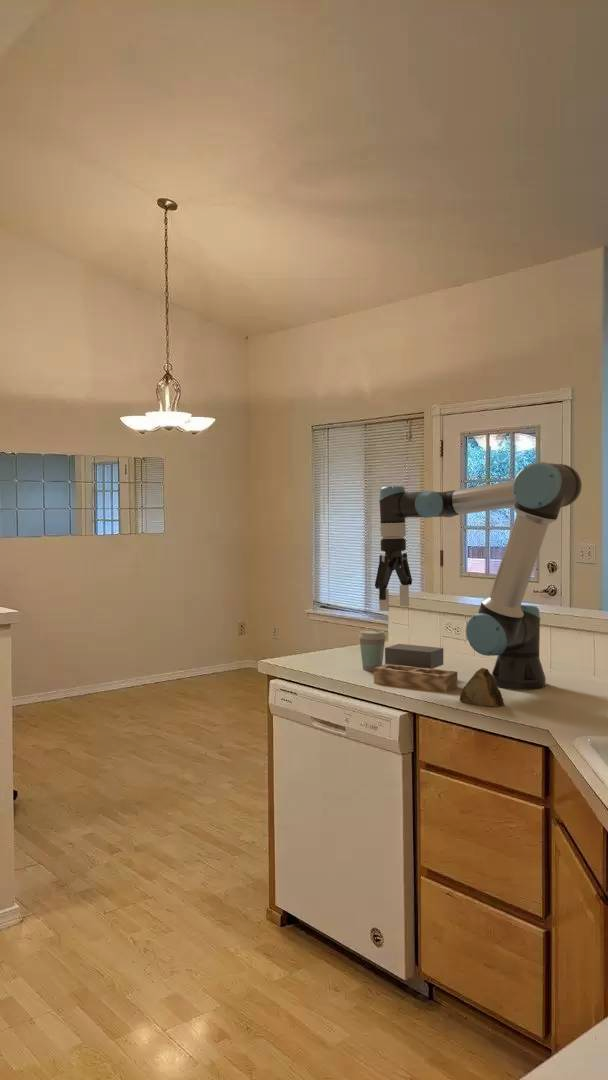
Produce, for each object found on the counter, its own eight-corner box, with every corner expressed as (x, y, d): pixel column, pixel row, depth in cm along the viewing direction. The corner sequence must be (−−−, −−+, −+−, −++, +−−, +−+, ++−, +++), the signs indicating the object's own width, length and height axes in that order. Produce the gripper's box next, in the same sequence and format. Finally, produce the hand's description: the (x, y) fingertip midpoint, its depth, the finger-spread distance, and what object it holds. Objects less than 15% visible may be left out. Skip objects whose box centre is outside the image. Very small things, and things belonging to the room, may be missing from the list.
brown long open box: (457, 687, 241) (457, 671, 240) (445, 692, 234) (445, 676, 234) (386, 678, 253) (386, 663, 253) (373, 683, 247) (373, 668, 246)
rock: (447, 693, 223) (471, 695, 214) (461, 665, 226) (485, 666, 217) (476, 715, 226) (500, 718, 217) (490, 687, 229) (514, 689, 220)
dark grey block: (443, 676, 255) (443, 648, 255) (430, 681, 248) (430, 652, 248) (398, 671, 264) (398, 643, 263) (385, 675, 256) (385, 647, 256)
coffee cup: (384, 672, 262) (384, 634, 262) (356, 671, 264) (356, 633, 264) (387, 667, 271) (387, 630, 270) (360, 666, 272) (360, 629, 272)
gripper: (400, 536, 268) (401, 604, 269) (362, 539, 247) (363, 612, 248) (422, 536, 264) (423, 604, 265) (385, 539, 243) (386, 613, 244)
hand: (394, 608), depth 256 cm, fingers open, 13 cm apart
